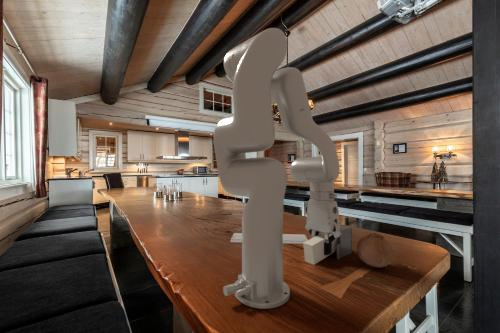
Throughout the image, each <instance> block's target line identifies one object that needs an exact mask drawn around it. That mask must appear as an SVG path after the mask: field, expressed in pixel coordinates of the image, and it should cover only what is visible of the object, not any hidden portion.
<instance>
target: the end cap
mask: <svg viewBox="0 0 500 333" xmlns="http://www.w3.org/2000/svg"><path fill="white" fill-rule="evenodd" d="M340 232H341V234H342V236H341V237H338V242H337V251H336V261H337V260H338V261H340V260H341V258H344V257H346V256H349V255H352V254H353V227H352V226H346V225H341V224H340ZM321 233H323V232H321Z"/></svg>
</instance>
